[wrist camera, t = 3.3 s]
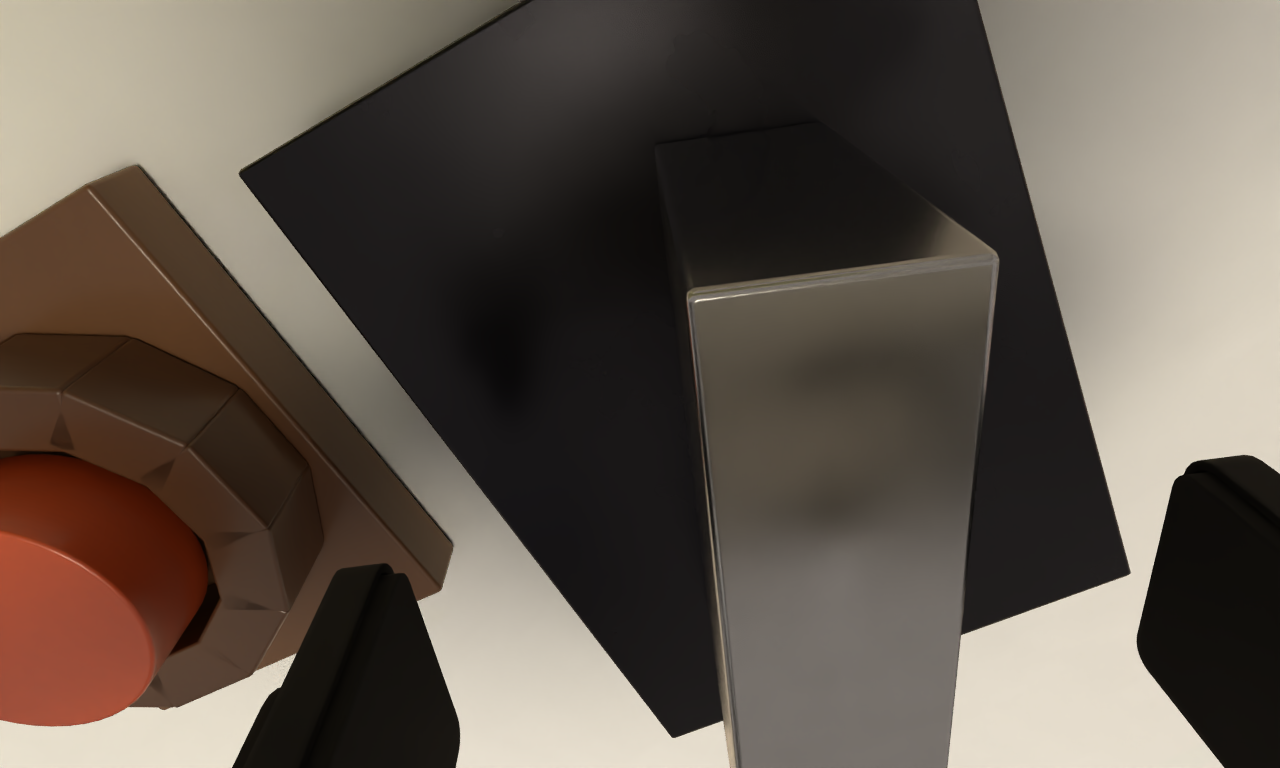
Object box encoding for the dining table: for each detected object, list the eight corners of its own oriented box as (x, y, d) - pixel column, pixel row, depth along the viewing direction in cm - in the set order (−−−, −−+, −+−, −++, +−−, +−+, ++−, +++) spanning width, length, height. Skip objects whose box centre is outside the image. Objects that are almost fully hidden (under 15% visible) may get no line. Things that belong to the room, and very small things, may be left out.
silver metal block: (652, 143, 11) (686, 306, 6) (824, 119, 11) (1020, 261, 5) (707, 611, 15) (755, 946, 10) (830, 598, 15) (942, 929, 10)
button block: (-168, 352, 15) (-368, 450, 12) (138, 162, 14) (-3, 219, 10) (193, 663, 20) (113, 792, 16) (455, 545, 18) (422, 665, 15)
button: (-109, 514, 13) (-217, 595, 12) (77, 412, 12) (-9, 483, 11) (85, 669, 15) (19, 758, 14) (260, 589, 14) (212, 673, 13)
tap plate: (309, 132, 13) (234, 173, 11) (847, -189, 11) (916, -236, 9) (665, 635, 19) (672, 739, 17) (1055, 483, 17) (1132, 574, 15)
